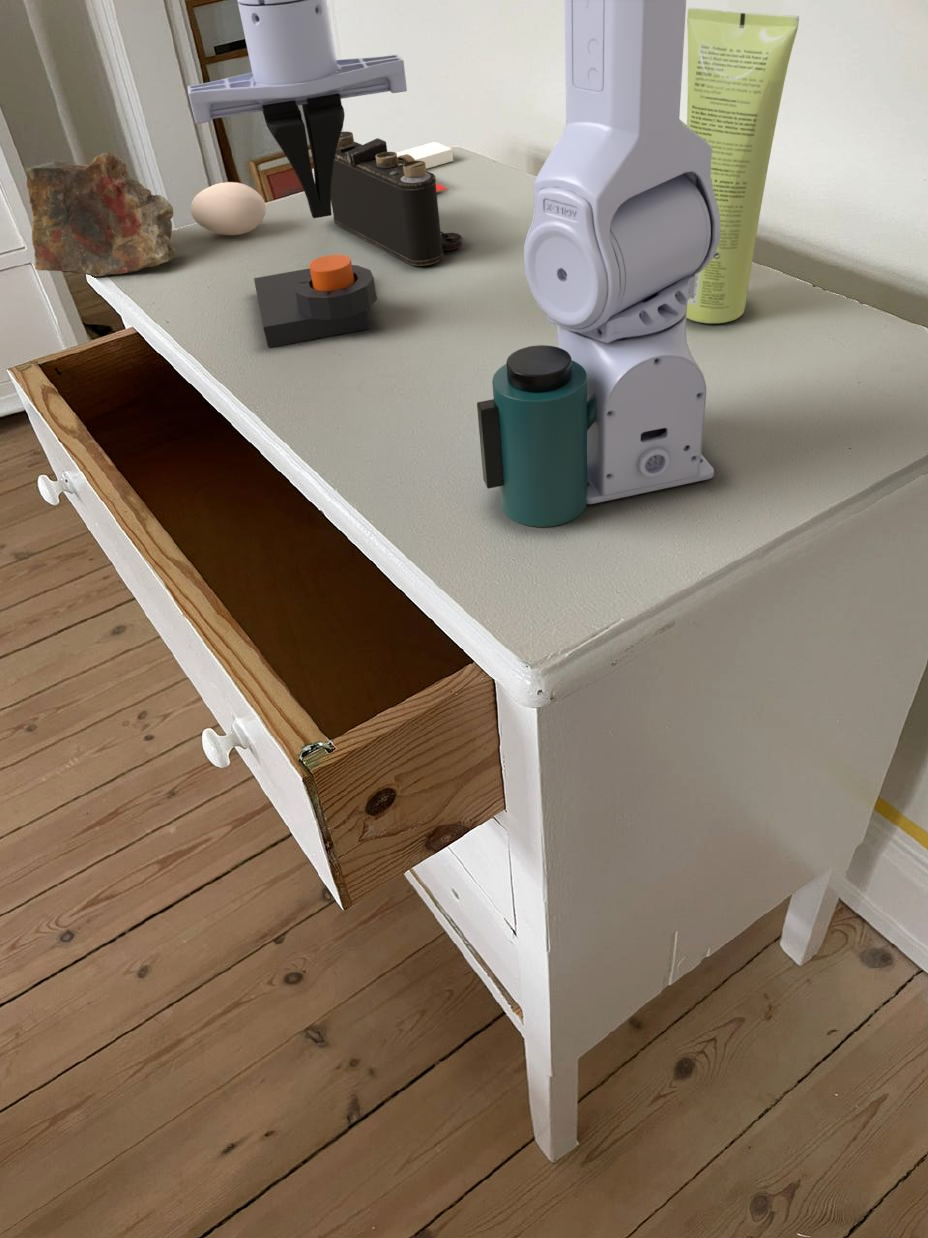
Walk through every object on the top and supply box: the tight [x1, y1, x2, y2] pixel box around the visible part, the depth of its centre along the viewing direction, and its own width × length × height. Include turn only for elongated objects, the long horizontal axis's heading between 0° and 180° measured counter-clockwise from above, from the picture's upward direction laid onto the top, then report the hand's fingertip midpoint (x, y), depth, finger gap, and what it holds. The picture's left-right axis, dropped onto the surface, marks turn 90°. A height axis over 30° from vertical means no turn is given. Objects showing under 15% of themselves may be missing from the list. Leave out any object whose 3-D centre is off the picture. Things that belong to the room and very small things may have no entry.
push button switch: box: [253, 264, 378, 348], centre depth 78 cm, size 11×9×4 cm
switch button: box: [308, 254, 354, 291], centre depth 74 cm, size 3×3×2 cm
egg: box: [190, 181, 267, 236], centre depth 93 cm, size 5×5×7 cm
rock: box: [26, 151, 176, 277], centre depth 89 cm, size 12×12×10 cm
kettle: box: [476, 344, 597, 528], centre depth 54 cm, size 5×8×9 cm, turn 103°
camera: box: [331, 131, 464, 267], centre depth 87 cm, size 16×7×8 cm, turn 34°
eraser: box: [396, 141, 454, 170], centre depth 105 cm, size 1×5×4 cm
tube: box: [686, 7, 800, 324], centre depth 66 cm, size 6×5×20 cm
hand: (320, 212), depth 71 cm, fingers closed
